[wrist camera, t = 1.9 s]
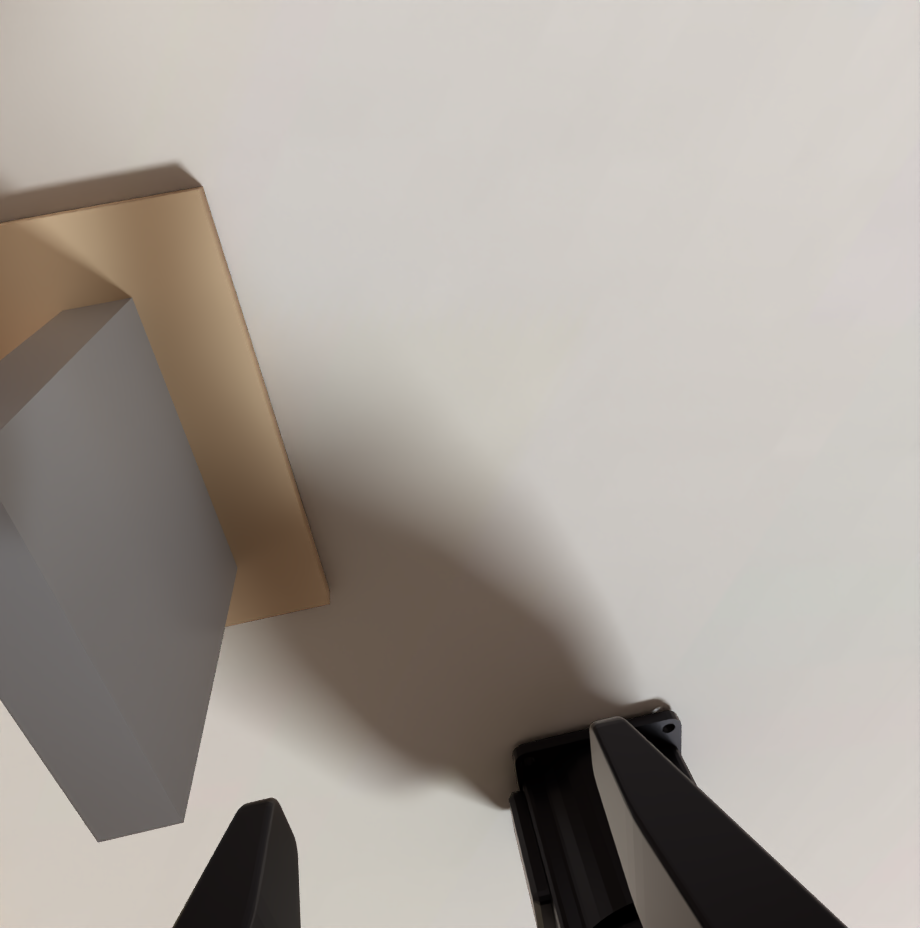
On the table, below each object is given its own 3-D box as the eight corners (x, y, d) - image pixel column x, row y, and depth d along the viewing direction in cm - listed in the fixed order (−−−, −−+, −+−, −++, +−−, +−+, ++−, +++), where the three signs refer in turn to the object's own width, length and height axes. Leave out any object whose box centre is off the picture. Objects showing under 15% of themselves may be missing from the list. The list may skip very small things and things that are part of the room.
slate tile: (131, 297, 16) (-25, 455, 9) (237, 567, 20) (183, 822, 13) (55, 311, 16) (-162, 483, 9) (176, 580, 20) (89, 844, 13)
